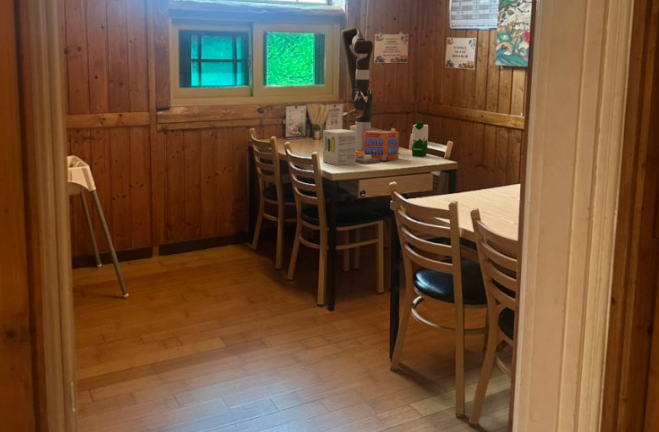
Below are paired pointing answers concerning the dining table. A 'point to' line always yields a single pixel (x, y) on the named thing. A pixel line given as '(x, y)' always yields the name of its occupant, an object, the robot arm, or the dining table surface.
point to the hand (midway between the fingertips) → (361, 108)
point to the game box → (381, 144)
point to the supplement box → (339, 146)
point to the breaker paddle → (360, 154)
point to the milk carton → (419, 140)
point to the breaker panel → (366, 159)
